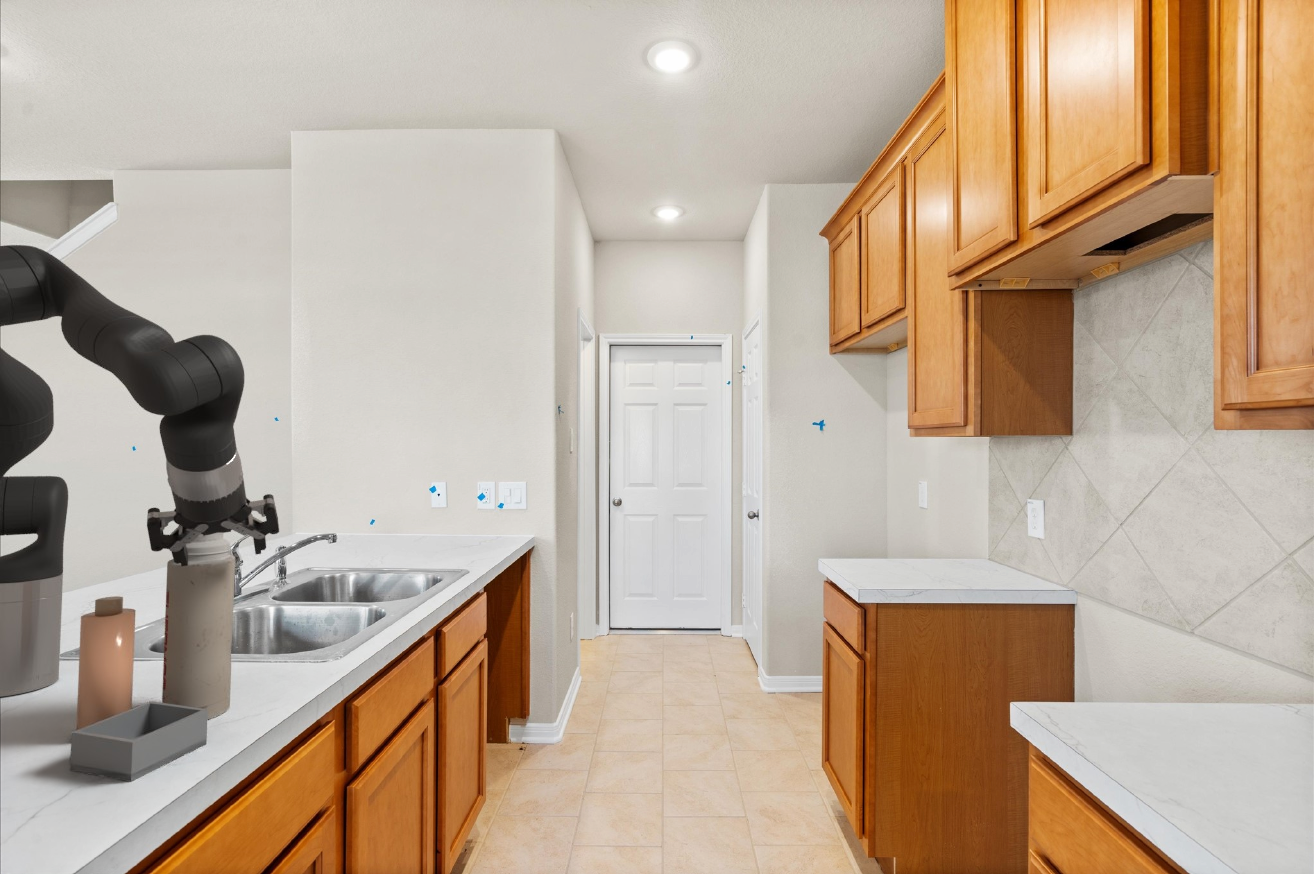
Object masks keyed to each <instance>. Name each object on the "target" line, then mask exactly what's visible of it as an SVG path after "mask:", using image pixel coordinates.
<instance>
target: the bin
mask: <svg viewBox="0 0 1314 874" xmlns="http://www.w3.org/2000/svg"><path fill="white" fill-rule="evenodd" d="M207 715H208V709H202V708H195V707H188V706H181V705H174V704H167V703H162V701H161V702H160V701H153V700H150V701H149V702H146V703H144V704H141V705H138V706H136V707H134V708H133V707H132V709H130V710H128V711H125V712H123V713H120V714H117V715H115V716H112V717H110V718H107V719H105V720H102V721H99V722H97V723H94V724H92V725H89V726H87V727H84V728H82V729H79V730H76V729H75V731H71V735H70V737H71V738H70V762H69V764H70V765H69V770H70V771H71V772H76V773H82V774H88V775H92V776H93V775H94V776H99V777H103V778H109V779H115V780H120V781H126V782H133V781H135V780H137V779H139V778H141V777H143V776H145V775H147V774H149V773H151V772H153V771H155V770H157V769H160V768H161V767H163V766H165V765H167V764H169V763H171V762H174V761H175V760H177V759H179V758H182V757H183V756H185V755H187V754H190V753H191V752H192V751H193V752H194V751H195V750H196V749H197V750H198V749H199V748H201V747H203V746H205V745H207V740H208V739H207V738H208V720H207Z"/></svg>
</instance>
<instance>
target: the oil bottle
mask: <svg viewBox="0 0 1314 874" xmlns="http://www.w3.org/2000/svg"><path fill="white" fill-rule="evenodd" d="M94 601H95V602H94V603H95V604H94V611H93V612H88V613H85V614H82V616H80V631H79V653H78V654H79V657H78V681H77V683H78V684H77V704H76V705H77V709H76V729H75V731H76V730H79V729H82V728H84V727H87V726H89V725H92V724H94V723H97V722H99V721H102V720H105V719H107V718H110V717H112V716H115V715H117V714H120V713H123V712H125V711H128V710H130V709H133V690H134V689H133V688H134V687H133V686H134V685H133V683H134V661H135V660H134V658H135V633H136V609H135V608H128V607H127V608H125V607H124V597H123V596H119V595H118V596H105V597H101V598H97V599H95V600H94Z"/></svg>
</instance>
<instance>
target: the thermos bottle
mask: <svg viewBox="0 0 1314 874" xmlns="http://www.w3.org/2000/svg"><path fill="white" fill-rule="evenodd" d="M231 547H232V546H231V543H230V541H228V540H226V539H225V538H224V533H214V534H211V535H204V536H203V534H200V535H198V536H197V537H196V538H195V539H194V540H193V541H192V542H191V543H190V544H189V543H187V544H186V548H187V552H188V566H181V563H179V564H176V563H175V562H174V559H173V558H172V559H169V560H168V561H167V563H166V564H167V565H166V590H165V593H166V594H165V616H164V617H165V618H164V641H163V643H164V644H163V645H164V646H163V664H162V665H163V670H162V691H161V692H162V693H161V694H162V695H161V703H167V704H174V705H181V706H188V707H195V708H202V709H208V715H207V721H208V720H210V719H213V718H216V717H218V716H221V715H222V714H224V713H226V712H227V711H228V710H229V709H230V706H231V683H232V681H231V680H232V644H233V633H234V631H233V627H234V626H233V625H234V601H235V599H234V597H235V574H236V573H235V572H236V571H235V570H236V569H235V568H236V557H235V555H232V554H231V551H232V549H231Z"/></svg>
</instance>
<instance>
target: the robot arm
mask: <svg viewBox="0 0 1314 874" xmlns="http://www.w3.org/2000/svg"><path fill="white" fill-rule="evenodd" d="M55 317H59V318H61V321H60V326H61V332H62V334H63V338H64V340H65V341H66V343H67V344H68V345H69V347H70V348H71V349H72V350H73V351H75V352H76V354H78V355H79V356H81V357H83V358H84V359H86V360H87V361H89V362H91V363H93V364H94V365H97V367H101V368H102V369H104V370H105V371H108V372H110V373H111V374H112V375H114V376H115V377H116V378H117V379H118V380H119V382H121V383H122V385H123V386H124V387H125V388H126V390H127V392H129V394H130V395H131V397H132V399H133V400H134V401H135V402H136V403H137V404H138V405H139V407H141V408H142V409H143V410H145V411H146V412H148V413H150V414H152V415H153V414H154V415H158V416H162V418H161V420H160V422H159V435H160V439H161V443H162V447H163V448H162V449H163V451H164V456H165V459H166V460H165V461H166V463H165V465H166V474H167V484H168V486H169V487H170V490H171V495H172V498H173V501H174V506H175V508H174V509H173V510H171V511H169V510H168V511H161V510H160V508H158V507H151V508H148V510H147V519H146V529H147V533H148V534H147V535H148V538H149V544H150V549H151V551H152V552H161V551H162V550H164V549H165V550H169V551H170V553H171V555H172V559H174V562H175V563H176V564H179V563H181V566H188V552H187V548H186V544H187V543H189V544H190V543H191V542H192V541H193V540H194V539H195V538H196V537H197V536H198V535H200V534H203V536H204V535H211V534H214V533H223V534H224V533H230V532H232V531H233V532H235V533H238V534H240V535H242V536H250V537H252V540H253V545H254V547H253V548H254V553H255V554H254V555H261V554H262V551H266V548H267V541H266V540H267V539H266V536H267V535H269V534H270V535H277V534H279V532H280V525H279V517H278V512H277V507H276V503H275V499H274V495H273V494H270V493H269V494H268V493H267V494H264V495H263V496H262V499H259V500H253V501H251V500H250V499H249V498H247V494H246V487H245V486H246V485H245V480H244V471H243V466H242V461H241V456H240V454H239V451H238V448H237V444H236V442H237V441H236V436H235V435H236V434H235V429H234V426H235V422H236V420H237V416H238V411H239V408H240V404H241V401H242V397H243V393H244V387H245V369H244V365H243V362H242V360H241V357H240V355H239V354H238V352H237V351H236V349H235V348H234V347H233V346H232V345H231V344H230V343H229V342H228V341H226V340H225V339H222V338H221V337H219V336H216V335H213V334H201V335H200V334H199V335H194V336H191V337H187V338H185V339H182V340H179V341H176V342H175V339H174V337H172V335H171V334H170V333H169V331H167V330H166V329H164V328H163V327H162V326H160V325H158V324H156V323H155V322H153V321H151V320H149V319H147V318H145V317H143V316H141V315H139V314H138V313H135V312H132V311H131V310H128V309H126V308H124V307H122V306H120V305H118V304H116V303H115V302H114V301H113V300H110V299H109V298H107V296H105V295H104V294H102V293H101V292H100V291H99V290H98V289H97V288H96V287H94V286H93V285H92V284H90V283H89V282H88V281H87V280H85V279H84V278H83V277H82V276H81V275H79V274H78V273H76V272H75V270H73V269H72V268H70V267H69V266H67V265H66V264H65V263H64V262H63V261H61V260H60V259H59V258H57V257H56V256H54V255H53V254H51V253H49V252H47V251H45V250H44V249H41V248H39V247H36V246H31V245H24V244H6V245H0V327H4V326H12V325H17V324H18V325H19V324H25V323H30V322H31V323H33V322H37V321H45V320H48V319H52V318H55ZM54 415H55V413H54V394H53V392H52V389H51V387H50V385H49V384H48V383H47V382H46V381H45V380H44V378H43V377H41V376H40V375H39V373H37V372H36V371H34V370H33V369H31V368H30V367H29V366H27V365H26V364H24V363H22V362H21V361H19V360H18V359H17V358H16V357H13V356H11V355H10V354H9V353H8V352H7V351H5V350H4V349H3V348H2V347H1V346H0V536H1V537H2V536H3V537H4V536H16V535H33V534H34V535H37V538H36V540H34V541H33V542H32V543H31V544H29V545H27V546H26V547H23V548H21V549H19V550H16V551H14V552H11V553H8V554H4V555H1V556H0V698H1V697H8V696H13V695H14V696H15V695H19V694H24V693H29V692H33V691H36V690H40V689H43V688H46V687H48V686H50V685H53V684H55V683H56V682H57V681H58V680H59V679H60V678H59V677H60V655H61V654H60V653H61V631H62V613H63V612H62V609H63V608H62V607H63V585H64V584H63V583H64V581H63V579H64V577H63V576H64V574H63V573H64V541H65V531H66V523H67V522H66V521H67V516H68V515H67V514H68V509H69V508H68V506H69V488H68V483H66V480H65V479H64V478H62V477H60V476H55V475H53V476H52V475H37V476H36V475H26V476H25V475H24V476H22V475H20V476H19V475H17V476H15V475H14V476H10V475H9V476H5V475H6V473H8V471H10V469H11V468H13V467H14V466H15V465H16V464H18V463H19V462H21V461H22V460H24V459H25V458H27V457H28V456H29V455H31V454H32V453H34V451H36V450H37V449H38V448H39V447H41V445H43V444H44V443H45V441H47V440H48V438H49V437H50V436H51V434H52V432H53V430H54V426H55V421H54V420H55V419H54V418H55V416H54ZM254 511H255V512H257V513H258V514H259V515H261V517H263V518H264V517H265V519H266V520H265V521H264V520H263V521H262V520H261V519H259V518H257V517H255V516H253V514H252V512H254ZM171 522H174V523H175V524H176V525H178V526H177V527H176V528H175V529H174V531H173V530H172V532H170V534H164V530H165V528H167V527H168V526H169V523H171Z"/></svg>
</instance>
